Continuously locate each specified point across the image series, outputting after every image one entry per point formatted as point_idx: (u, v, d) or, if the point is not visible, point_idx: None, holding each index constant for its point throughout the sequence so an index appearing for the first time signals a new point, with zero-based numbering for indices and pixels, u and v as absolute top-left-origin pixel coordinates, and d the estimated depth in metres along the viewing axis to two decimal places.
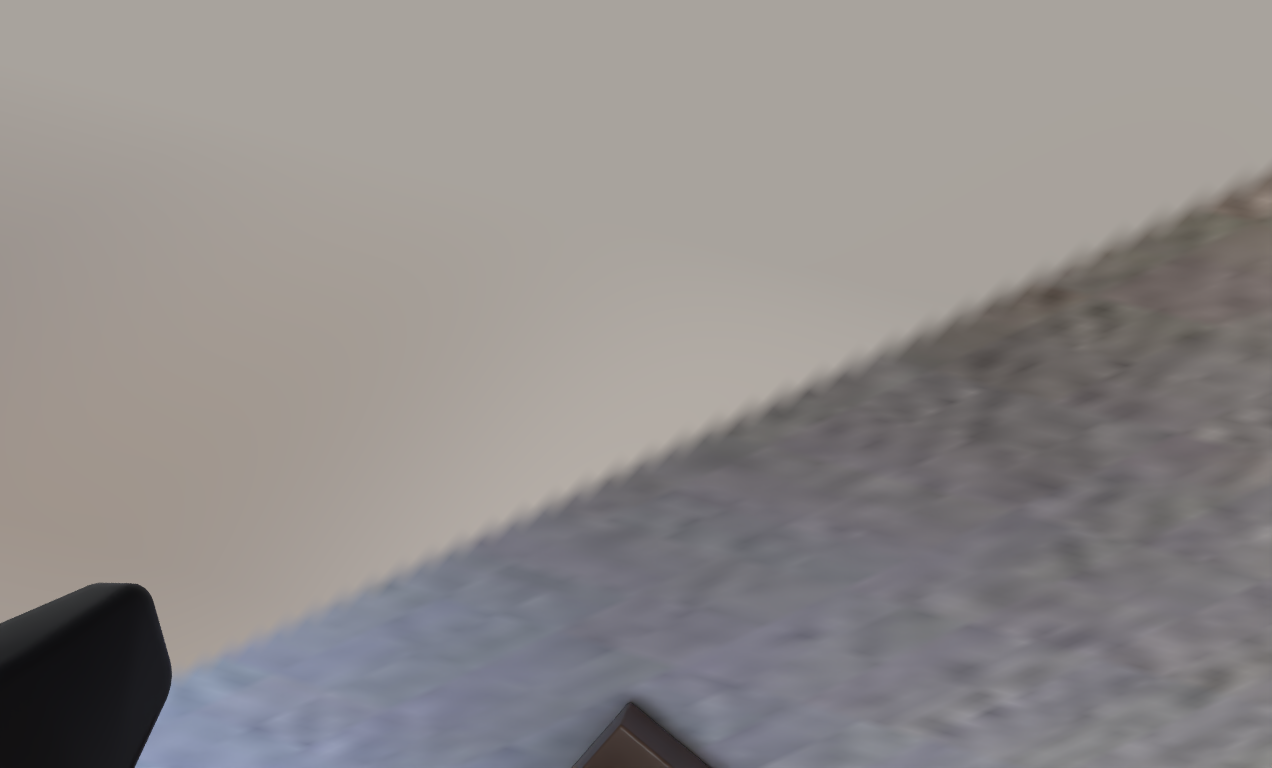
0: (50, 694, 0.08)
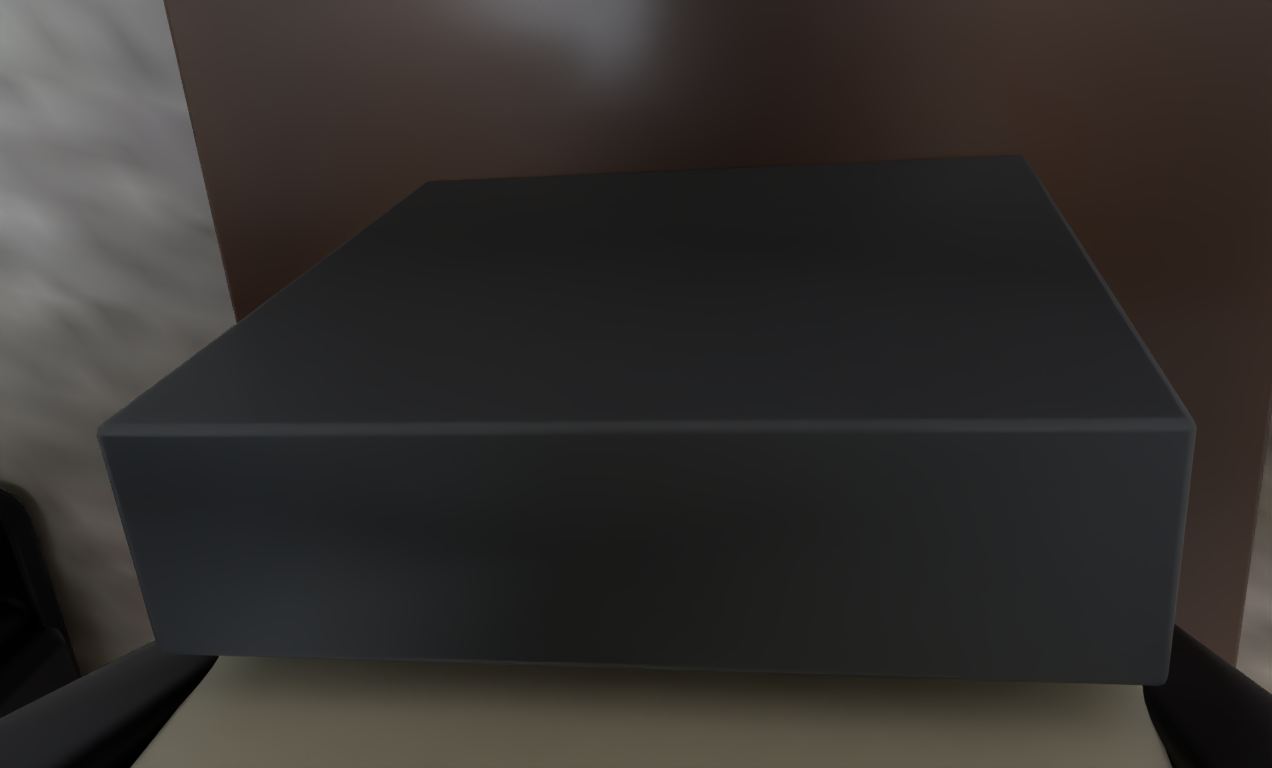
0: None
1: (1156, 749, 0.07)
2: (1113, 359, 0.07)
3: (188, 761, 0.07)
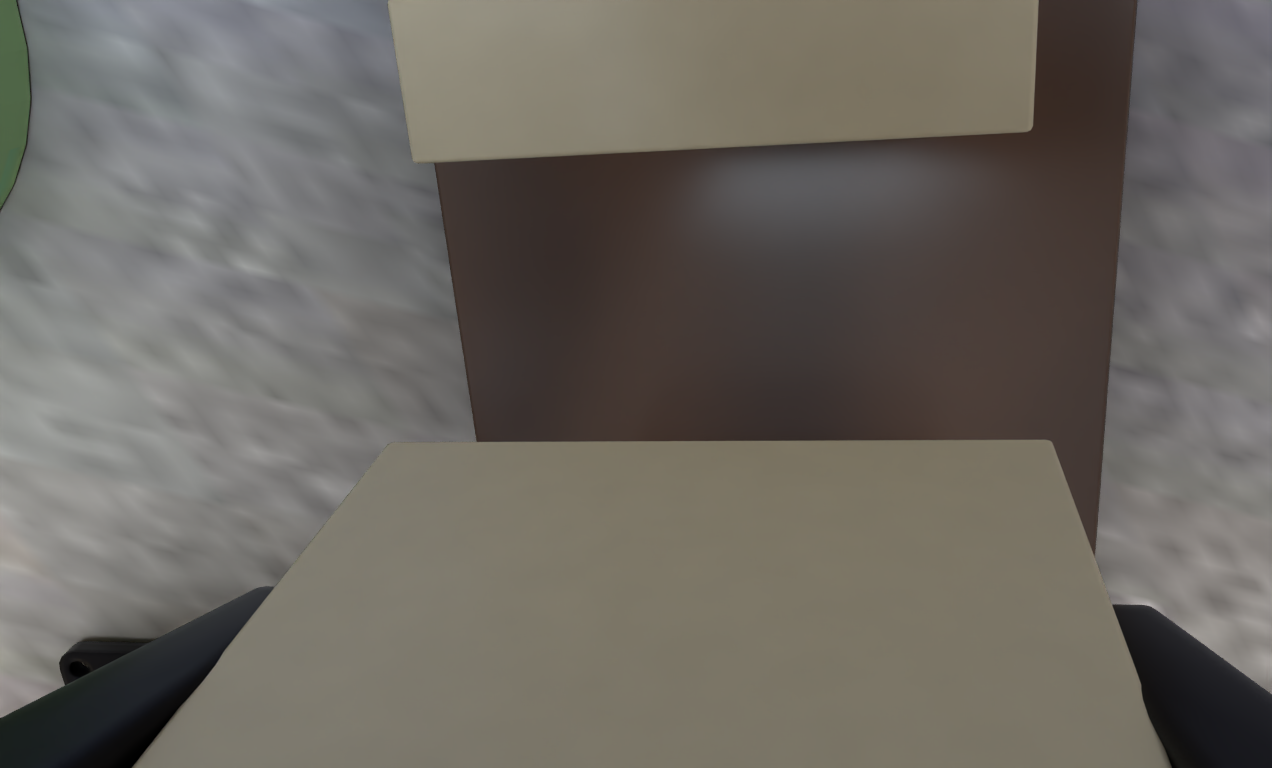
0: None
1: (1157, 752, 0.06)
2: None
3: (186, 765, 0.07)
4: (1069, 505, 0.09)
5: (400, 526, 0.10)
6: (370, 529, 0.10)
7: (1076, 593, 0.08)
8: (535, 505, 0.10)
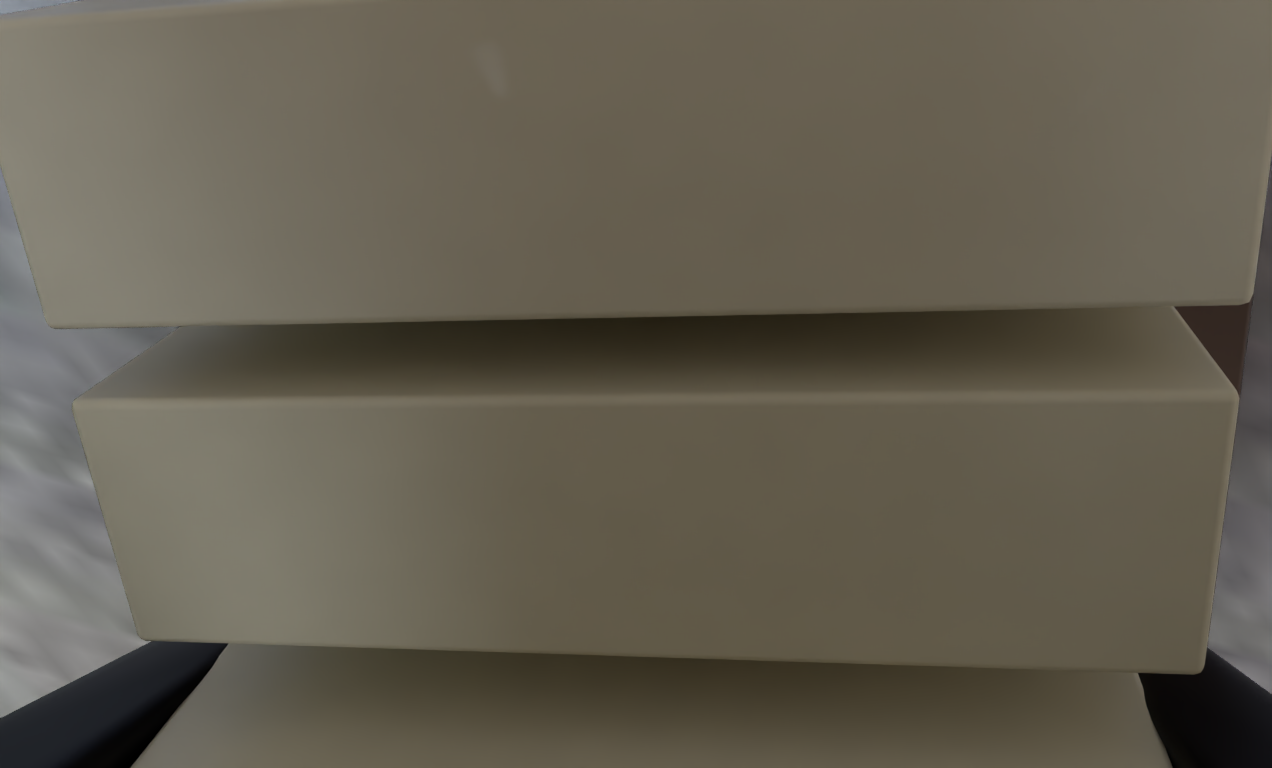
0: None
1: (1157, 751, 0.06)
2: None
3: (186, 764, 0.07)
4: None
5: None
6: None
7: None
8: None
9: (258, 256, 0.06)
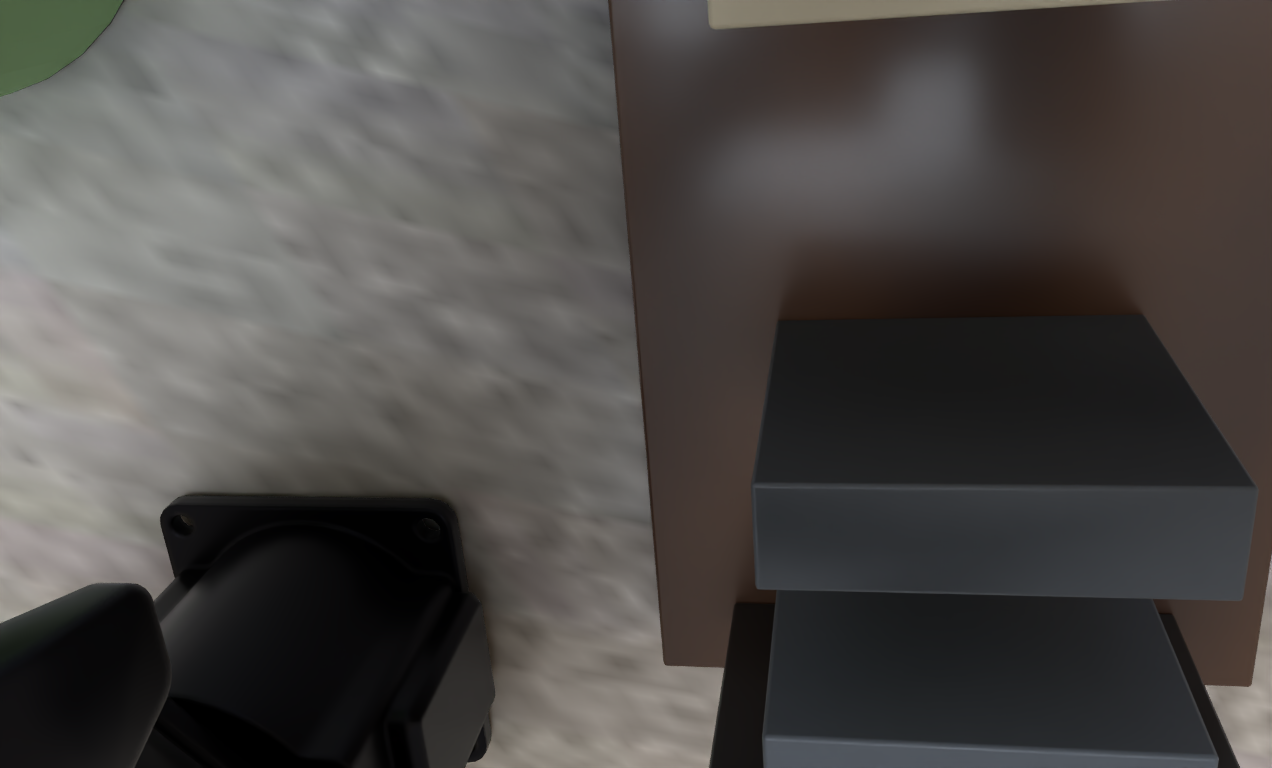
0: (50, 694, 0.08)
1: None
2: (1219, 456, 0.15)
3: None
4: None
5: None
6: None
7: None
8: None
9: None
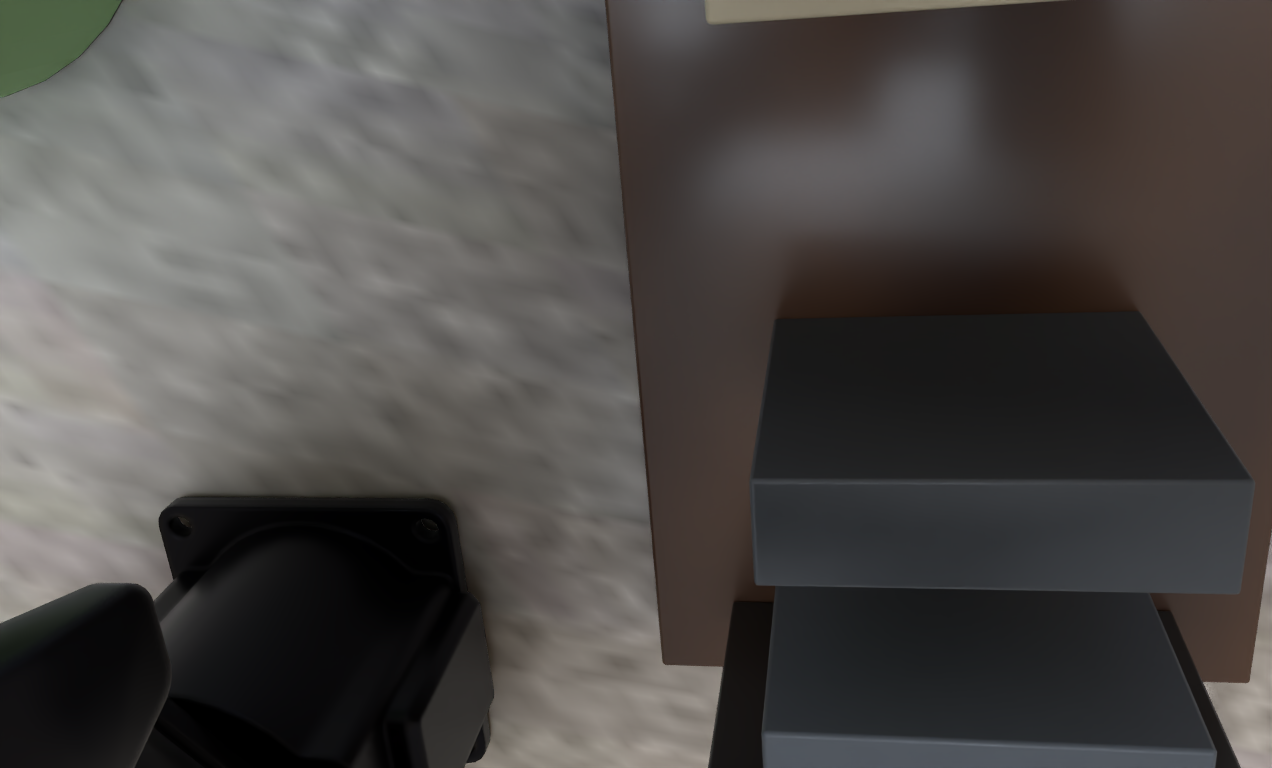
0: (50, 694, 0.08)
1: None
2: (1215, 450, 0.15)
3: None
4: None
5: None
6: None
7: None
8: None
9: None
